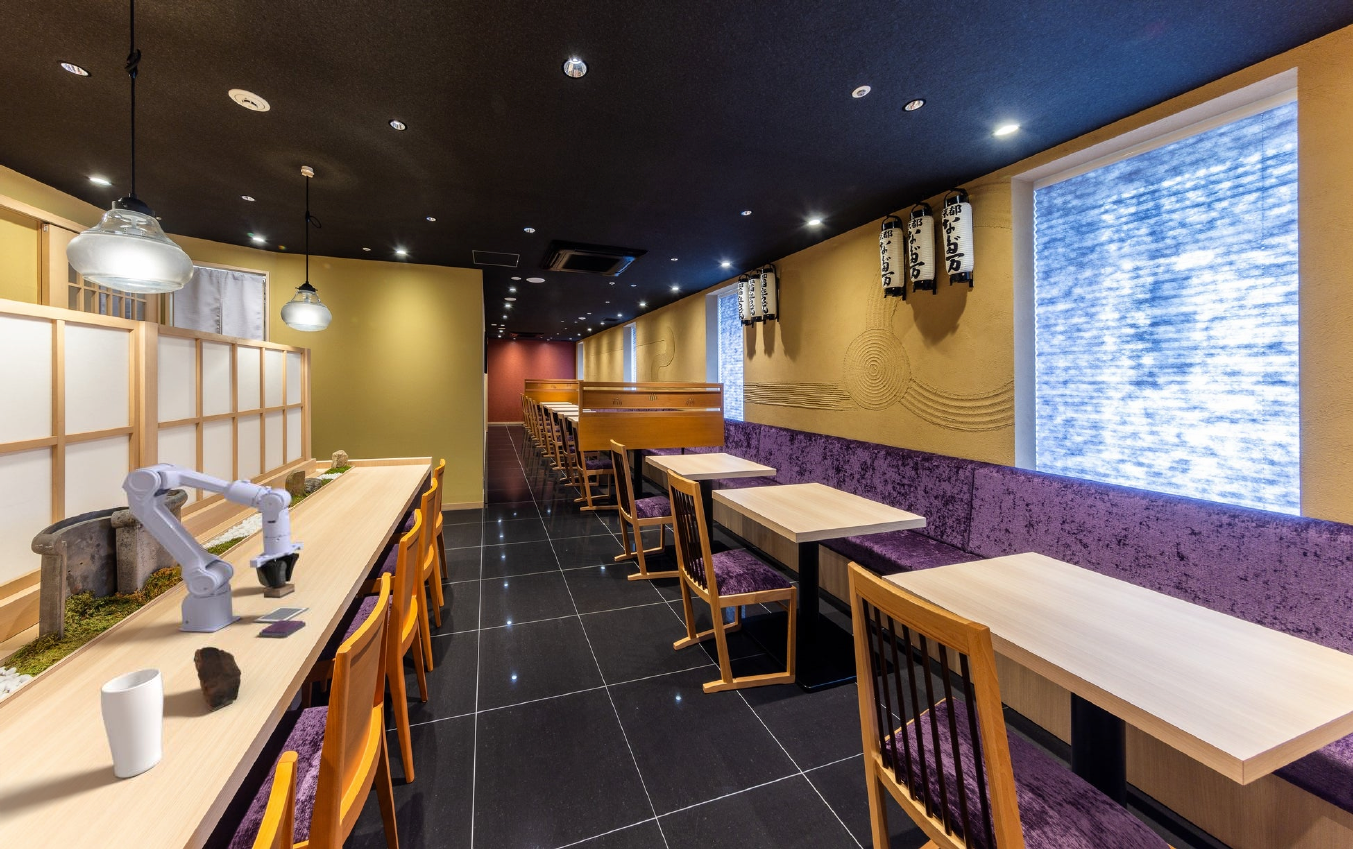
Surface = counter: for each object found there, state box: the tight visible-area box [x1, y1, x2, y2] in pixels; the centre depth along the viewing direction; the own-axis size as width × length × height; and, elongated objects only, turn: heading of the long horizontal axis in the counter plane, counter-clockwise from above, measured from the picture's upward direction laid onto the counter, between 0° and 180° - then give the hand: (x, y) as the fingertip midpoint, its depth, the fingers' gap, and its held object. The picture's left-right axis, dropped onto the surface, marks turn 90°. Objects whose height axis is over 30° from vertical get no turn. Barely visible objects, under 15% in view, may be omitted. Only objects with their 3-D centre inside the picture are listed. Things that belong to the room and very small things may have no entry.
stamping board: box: [252, 606, 310, 624], centre depth 134 cm, size 8×8×1 cm
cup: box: [255, 568, 269, 589], centre depth 151 cm, size 8×7×8 cm
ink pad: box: [258, 620, 307, 639], centre depth 126 cm, size 7×6×2 cm
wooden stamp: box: [263, 560, 296, 599], centre depth 133 cm, size 5×5×9 cm
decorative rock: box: [193, 646, 242, 712], centre depth 99 cm, size 12×6×11 cm, turn 51°
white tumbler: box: [100, 668, 165, 779], centre depth 80 cm, size 7×7×15 cm
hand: (279, 583), depth 133 cm, fingers closed on wooden stamp, 3 cm apart
